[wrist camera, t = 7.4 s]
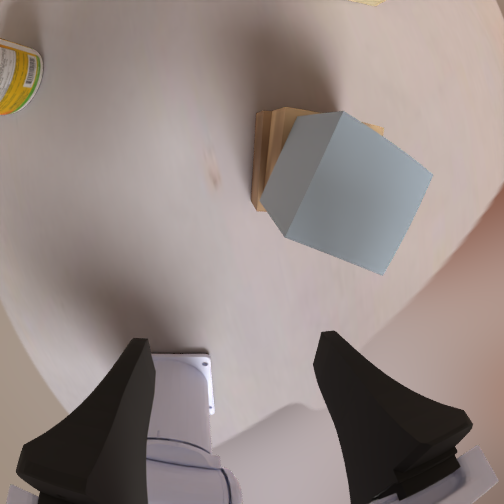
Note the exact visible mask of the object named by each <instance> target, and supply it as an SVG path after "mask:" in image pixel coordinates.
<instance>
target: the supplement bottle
mask: <svg viewBox="0 0 504 504" xmlns="http://www.w3.org/2000/svg"><path fill="white" fill-rule="evenodd" d="M42 74H43V62H42V58H41V56H40V54H39V53H38V52H37V51H36V50H34V49H32V48H29V47H26V46H23V45H20V44H17V43H14V42H11V41H7V40H4V39H1V38H0V115H4V114H13V113H16V112H18V111H20V110H21V109H23V108H24V107H25V106H26V105H27V104H28V103H29V102H30V101H31V100H32V98H33V97H34V95H35V94H36V92H37V90H38V87H39V85H40V82H41V79H42Z"/></svg>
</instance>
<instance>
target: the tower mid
mask: <svg viewBox="0 0 504 504" xmlns="http://www.w3.org/2000/svg"><path fill="white" fill-rule="evenodd" d="M312 114H320V113H319V112H314V111H308V110H303V109H297V108H290V107H283V108H280V109H277V110H274V111H272V117H271V127H270V136H269V146H268V155H267V164H266V174H265V183H264V189H265V186H266V184H267V182H268V180H269V178H270V175H271V173H272V171H273V169H274V166H275V164H276V162H277V160H278V158H279V155H280V153H281V151H282V149H283V147H284V144H285V142H286V140H287V138H288V136H289V133H290V131H291V129H292V127H293V125H294V122H295V120H296V118H297V116H304V115H312ZM362 123H363V124H365V125H367V126H368V127H370V128H371V129H373V130H374V131H376V132H377V133H379V134H380V135H381V136H383V132H384V128H382V127H379V126H375V125H371V124H368V123H364V122H362Z"/></svg>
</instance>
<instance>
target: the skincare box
mask: <svg viewBox="0 0 504 504" xmlns="http://www.w3.org/2000/svg"><path fill="white" fill-rule="evenodd" d="M349 1H353V2H358V3H362V4H367V5H371V6H377V5H379V4H380V3H382V2H384V1H386V0H349Z"/></svg>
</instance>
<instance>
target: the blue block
mask: <svg viewBox="0 0 504 504" xmlns="http://www.w3.org/2000/svg"><path fill="white" fill-rule="evenodd" d="M432 177H433V174H432V173H431V172H429V171H428V170H427V169H426V168H424V167H423V166H422V165H421V164H419V163H418V162H417V161H416V160H414V159H413V158H412V157H410V156H409V155H408V154H407V153H405V152H404V151H402V150H401V149H400V148H398V147H397V146H396V145H394V144H393V143H392V142H390V141H389V140H387V139H386V138H384V137H383V136H381V135H380V134H379V133H377V132H376V131H374V130H373V129H371V128H370V127H368V126H367V125H365V124H363V123H362V122H360V121H359V120H357V119H356V118H354V117H352V116H351V115H349V114H347V113H346V112H344V111H339V112H329V113H320V114H312V115H304V116H297V118H296V120H295V122H294V125H293V127H292V129H291V131H290V133H289V136H288V138H287V140H286V142H285V144H284V147H283V149H282V151H281V153H280V155H279V158H278V160H277V162H276V164H275V166H274V169H273V171H272V173H271V175H270V178H269V180H268V182H267V184H266V186H265V189H264V191H263V193H262V195H261V198H260V200H259V201H260V202H261V204H262V205H263V207H264V208H265V209H266V211H267V212H268V214H269V215H270V217H271V218H272V220H273V221H274V222H275V224H276V225H277V227H278V228H279V230H280V231H281V233H282V234H283V236H284V237H285V238H288V239H290V240H293V241H296V242H298V243H301V244H304V245H306V246H309V247H311V248H314V249H317V250H319V251H322V252H324V253H327V254H329V255H332V256H334V257H337V258H340V259H342V260H345V261H347V262H350V263H352V264H355V265H357V266H360V267H362V268H365V269H367V270H370V271H372V272H375V273H377V274H380V275H382V276H383V274H384V273H385V271H386V269H387V267H388V266H389V264H390V262H391V260H392V259H393V257H394V255H395V253H396V251H397V249H398V248H399V246H400V244H401V242H402V240H403V238H404V236H405V234H406V232H407V230H408V228H409V226H410V224H411V222H412V220H413V218H414V216H415V214H416V212H417V210H418V208H419V206H420V204H421V201H422V199H423V197H424V195H425V193H426V190H427V188H428V186H429V184H430V181H431V179H432Z"/></svg>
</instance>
